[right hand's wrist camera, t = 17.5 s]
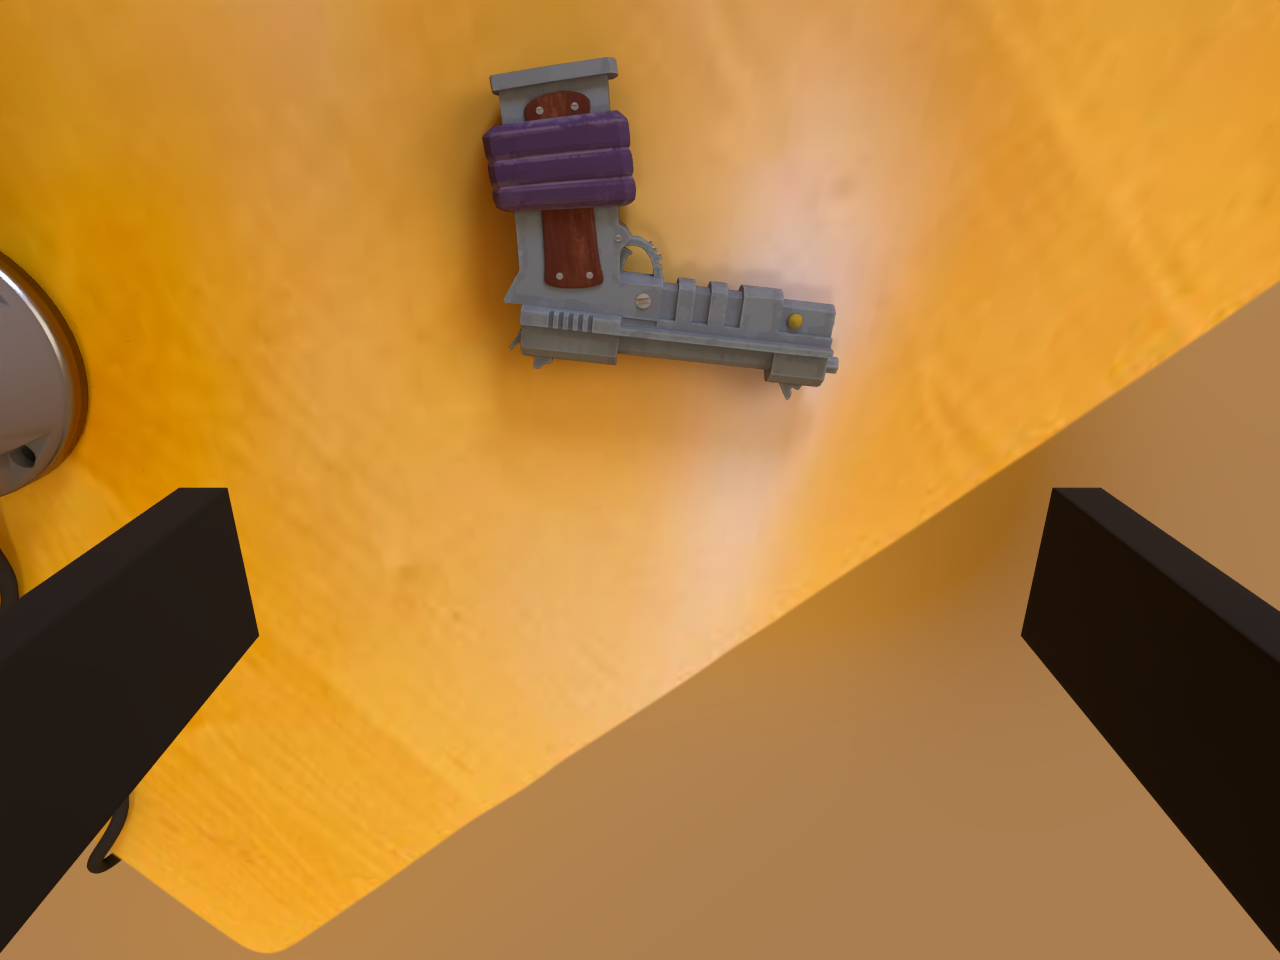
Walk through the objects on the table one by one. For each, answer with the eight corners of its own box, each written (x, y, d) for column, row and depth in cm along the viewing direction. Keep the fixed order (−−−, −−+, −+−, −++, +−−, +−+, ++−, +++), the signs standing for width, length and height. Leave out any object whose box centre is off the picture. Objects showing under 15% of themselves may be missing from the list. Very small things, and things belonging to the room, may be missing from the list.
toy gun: (881, 98, 38) (820, 394, 43) (497, 50, 37) (486, 358, 43) (906, 91, 34) (836, 414, 40) (482, 37, 33) (472, 375, 39)
